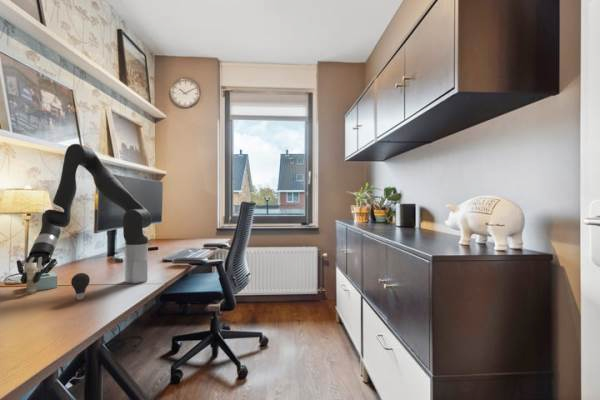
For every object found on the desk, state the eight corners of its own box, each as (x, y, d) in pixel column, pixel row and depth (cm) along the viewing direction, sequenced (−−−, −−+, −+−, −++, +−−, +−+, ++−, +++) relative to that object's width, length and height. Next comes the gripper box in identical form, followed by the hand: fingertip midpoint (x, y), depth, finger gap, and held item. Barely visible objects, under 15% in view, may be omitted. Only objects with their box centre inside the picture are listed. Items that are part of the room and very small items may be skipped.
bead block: (57, 287, 129) (57, 275, 129) (28, 291, 122) (29, 279, 122) (54, 283, 135) (54, 272, 135) (26, 287, 128) (27, 275, 128)
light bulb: (92, 299, 114) (92, 272, 114) (75, 303, 109) (75, 275, 109) (85, 296, 116) (85, 270, 117) (67, 300, 112) (68, 273, 112)
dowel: (36, 293, 120) (37, 263, 120) (26, 295, 118) (27, 264, 118) (35, 292, 122) (36, 262, 122) (26, 293, 120) (26, 263, 120)
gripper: (20, 242, 125) (2, 278, 113) (61, 240, 130) (47, 275, 118) (27, 252, 130) (10, 289, 118) (66, 251, 135) (53, 286, 123)
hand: (28, 282), depth 118 cm, fingers closed on dowel, 3 cm apart
